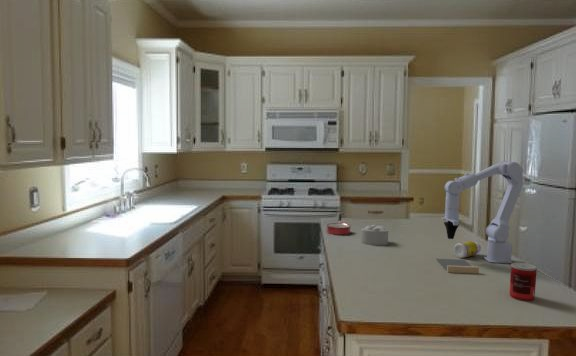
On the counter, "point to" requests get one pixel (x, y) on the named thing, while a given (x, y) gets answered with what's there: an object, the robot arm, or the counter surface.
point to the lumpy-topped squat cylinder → (374, 235)
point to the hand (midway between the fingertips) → (450, 238)
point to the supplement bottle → (466, 249)
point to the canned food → (523, 281)
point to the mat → (457, 266)
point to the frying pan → (338, 228)
